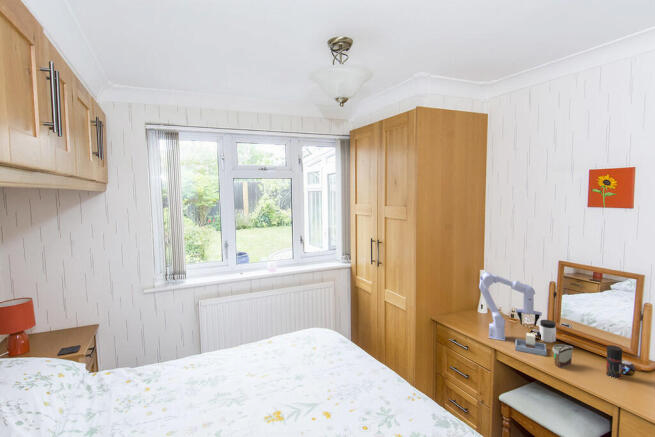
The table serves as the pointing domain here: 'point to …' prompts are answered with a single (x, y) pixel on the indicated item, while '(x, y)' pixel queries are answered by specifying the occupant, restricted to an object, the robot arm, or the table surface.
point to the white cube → (530, 338)
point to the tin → (530, 345)
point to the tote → (539, 348)
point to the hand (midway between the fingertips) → (528, 324)
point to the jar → (548, 331)
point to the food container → (562, 355)
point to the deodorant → (614, 361)
